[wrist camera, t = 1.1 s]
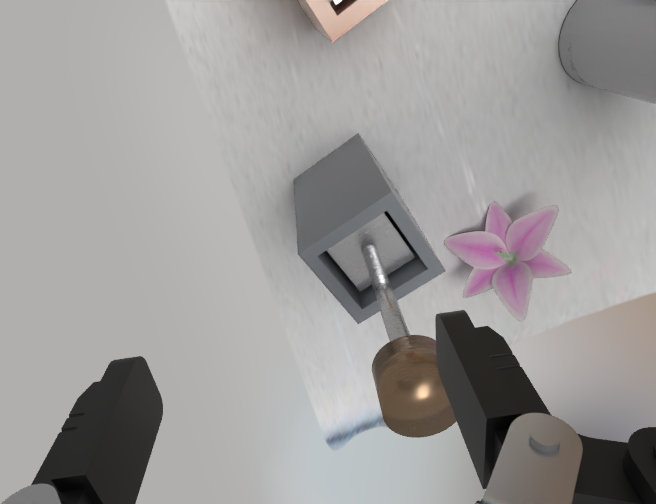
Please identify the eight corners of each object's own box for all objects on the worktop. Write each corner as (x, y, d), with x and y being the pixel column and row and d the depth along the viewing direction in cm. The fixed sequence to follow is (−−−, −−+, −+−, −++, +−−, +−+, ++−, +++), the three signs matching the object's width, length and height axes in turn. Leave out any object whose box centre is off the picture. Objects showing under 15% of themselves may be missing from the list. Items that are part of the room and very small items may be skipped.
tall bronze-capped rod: (379, 205, 35) (446, 348, 20) (413, 253, 37) (495, 412, 23) (322, 242, 36) (348, 403, 21) (359, 287, 38) (404, 459, 24)
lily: (547, 182, 51) (555, 189, 43) (576, 281, 52) (589, 309, 44) (442, 213, 56) (429, 226, 47) (470, 303, 57) (462, 332, 48)
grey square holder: (358, 133, 46) (391, 191, 32) (399, 194, 49) (445, 270, 35) (293, 179, 47) (298, 254, 33) (337, 235, 51) (358, 324, 37)
